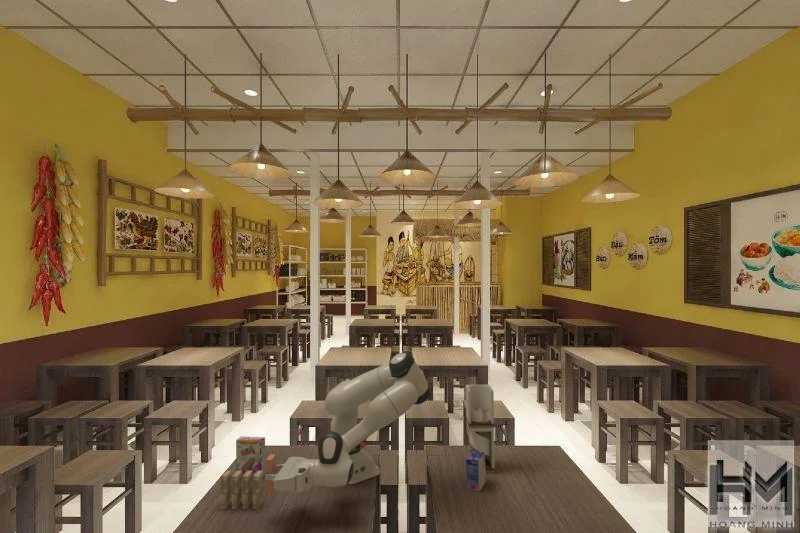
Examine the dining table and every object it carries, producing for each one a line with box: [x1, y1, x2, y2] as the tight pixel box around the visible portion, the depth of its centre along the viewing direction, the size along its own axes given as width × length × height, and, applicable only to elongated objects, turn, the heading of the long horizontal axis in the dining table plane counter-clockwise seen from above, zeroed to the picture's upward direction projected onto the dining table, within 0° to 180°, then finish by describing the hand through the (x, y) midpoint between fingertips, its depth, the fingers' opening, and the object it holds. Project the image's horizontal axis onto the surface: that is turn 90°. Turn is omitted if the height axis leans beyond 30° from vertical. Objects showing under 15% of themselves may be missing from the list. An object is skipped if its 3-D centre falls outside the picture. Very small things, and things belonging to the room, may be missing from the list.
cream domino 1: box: [220, 470, 232, 510], centre depth 179 cm, size 2×5×12 cm, turn 178°
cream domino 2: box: [231, 470, 243, 510], centre depth 179 cm, size 2×5×12 cm, turn 178°
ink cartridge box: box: [465, 448, 487, 492], centre depth 192 cm, size 10×6×14 cm, turn 155°
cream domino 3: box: [242, 471, 253, 510], centre depth 178 cm, size 2×5×12 cm, turn 178°
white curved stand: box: [465, 384, 496, 474], centre depth 209 cm, size 11×11×35 cm
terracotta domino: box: [265, 453, 277, 495], centre depth 169 cm, size 2×5×12 cm, turn 178°
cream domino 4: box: [252, 471, 264, 510], centre depth 178 cm, size 2×5×12 cm, turn 178°
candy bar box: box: [235, 435, 266, 480], centre depth 203 cm, size 11×5×16 cm, turn 84°
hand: (268, 472), depth 169 cm, fingers closed on terracotta domino, 5 cm apart
